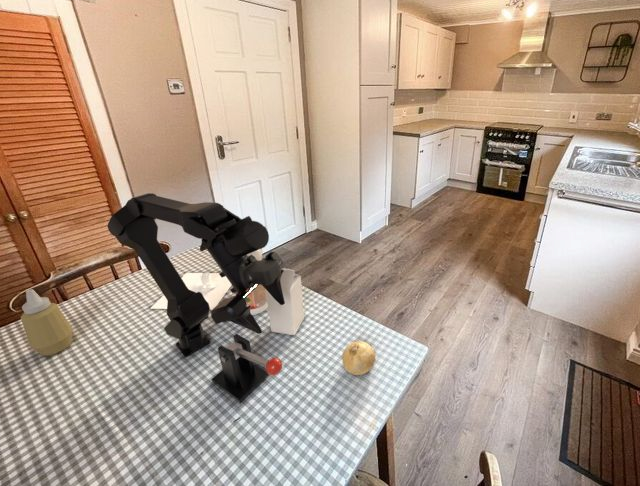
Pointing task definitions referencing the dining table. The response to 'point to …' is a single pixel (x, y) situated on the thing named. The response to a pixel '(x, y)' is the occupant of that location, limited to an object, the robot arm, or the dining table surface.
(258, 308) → the fruit juice
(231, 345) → the lever
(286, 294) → the milk carton
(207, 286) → the teacup and saucer
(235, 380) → the bracket
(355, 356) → the onion
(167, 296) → the robot arm
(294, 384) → the dining table surface
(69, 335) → the squeeze bottle
